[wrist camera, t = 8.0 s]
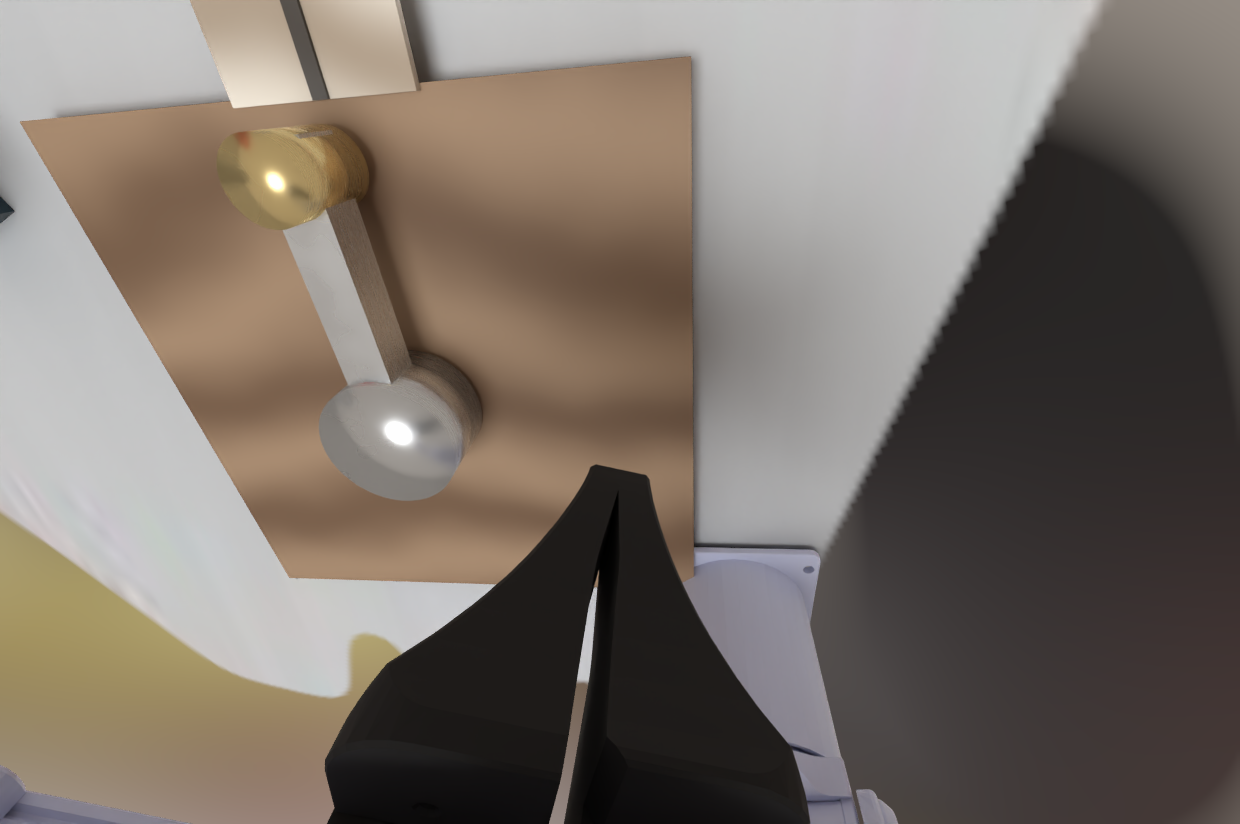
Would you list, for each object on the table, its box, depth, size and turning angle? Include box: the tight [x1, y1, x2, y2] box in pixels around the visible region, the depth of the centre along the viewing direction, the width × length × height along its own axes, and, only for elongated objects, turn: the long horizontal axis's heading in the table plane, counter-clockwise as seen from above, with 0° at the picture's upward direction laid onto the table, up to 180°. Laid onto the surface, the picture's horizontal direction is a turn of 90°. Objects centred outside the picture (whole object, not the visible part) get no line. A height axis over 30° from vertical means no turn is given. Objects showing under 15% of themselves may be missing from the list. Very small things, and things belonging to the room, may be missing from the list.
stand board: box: [20, 0, 694, 587], centre depth 21 cm, size 25×22×2 cm
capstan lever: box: [216, 124, 482, 501], centre depth 18 cm, size 13×5×4 cm, turn 6°
